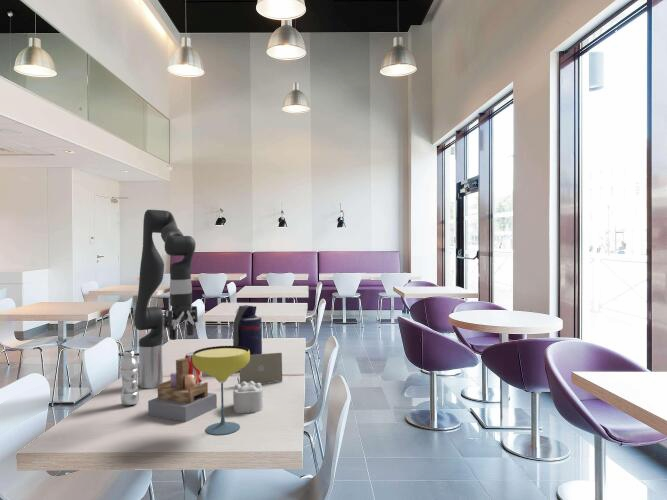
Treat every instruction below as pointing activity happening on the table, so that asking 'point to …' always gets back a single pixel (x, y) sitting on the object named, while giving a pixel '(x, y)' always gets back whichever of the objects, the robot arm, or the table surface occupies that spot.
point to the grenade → (248, 329)
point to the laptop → (262, 369)
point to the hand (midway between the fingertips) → (181, 337)
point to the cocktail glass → (221, 375)
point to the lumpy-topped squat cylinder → (247, 397)
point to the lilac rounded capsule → (173, 380)
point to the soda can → (193, 369)
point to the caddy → (181, 386)
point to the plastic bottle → (129, 379)
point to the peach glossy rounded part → (189, 381)
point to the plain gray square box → (182, 407)
